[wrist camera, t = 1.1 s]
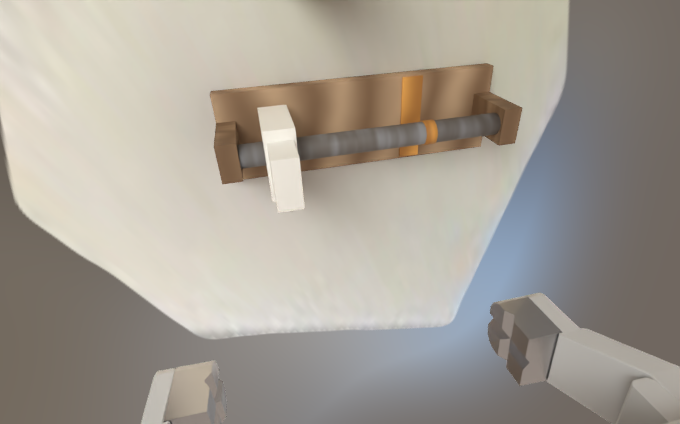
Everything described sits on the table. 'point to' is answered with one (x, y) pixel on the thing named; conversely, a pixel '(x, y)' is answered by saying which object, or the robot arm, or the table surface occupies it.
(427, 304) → the table surface
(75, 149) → the table surface
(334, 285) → the table surface
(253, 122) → the pipe stand
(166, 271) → the table surface
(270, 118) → the collar
